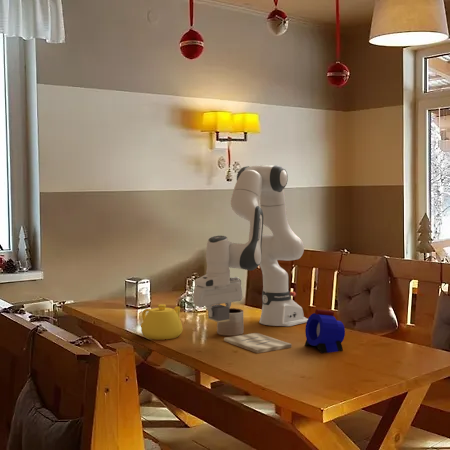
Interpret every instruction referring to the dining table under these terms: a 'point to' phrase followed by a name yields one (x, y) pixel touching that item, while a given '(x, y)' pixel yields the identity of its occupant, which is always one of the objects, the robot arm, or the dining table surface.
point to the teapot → (161, 323)
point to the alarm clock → (324, 331)
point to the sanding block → (219, 313)
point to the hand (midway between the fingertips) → (218, 315)
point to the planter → (232, 324)
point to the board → (257, 342)
